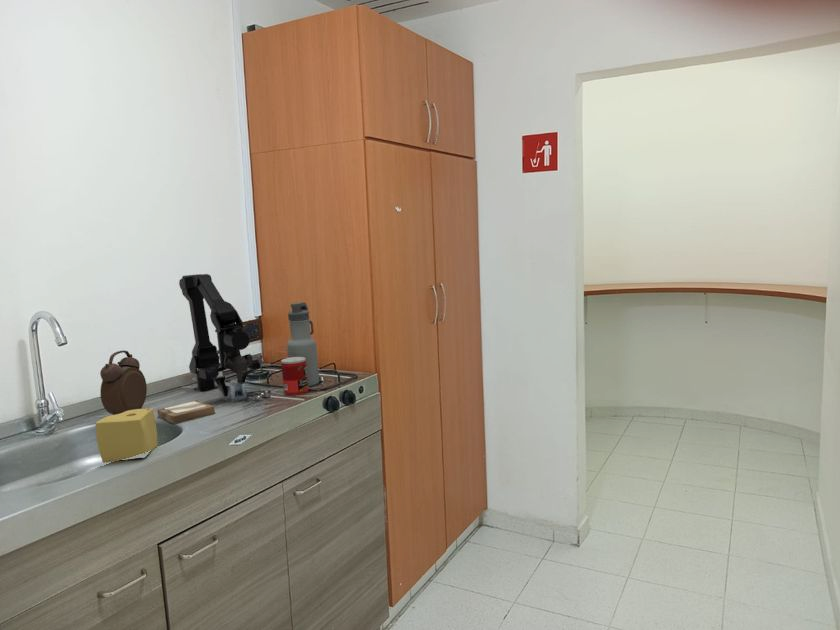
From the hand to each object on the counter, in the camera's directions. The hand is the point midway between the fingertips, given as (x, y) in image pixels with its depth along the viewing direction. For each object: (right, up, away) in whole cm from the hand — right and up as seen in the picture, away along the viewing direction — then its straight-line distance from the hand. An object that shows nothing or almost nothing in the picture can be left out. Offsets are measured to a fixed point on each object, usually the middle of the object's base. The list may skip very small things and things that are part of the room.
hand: (233, 394), depth 198 cm
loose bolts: (+9, -1, -1) cm, 9 cm away
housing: (0, -1, 0) cm, 1 cm away
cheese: (-10, -9, -48) cm, 50 cm away
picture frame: (-9, -4, -16) cm, 19 cm away
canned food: (+20, 0, +2) cm, 20 cm away
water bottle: (+21, +2, +13) cm, 25 cm away
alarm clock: (-28, -5, -14) cm, 31 cm away
